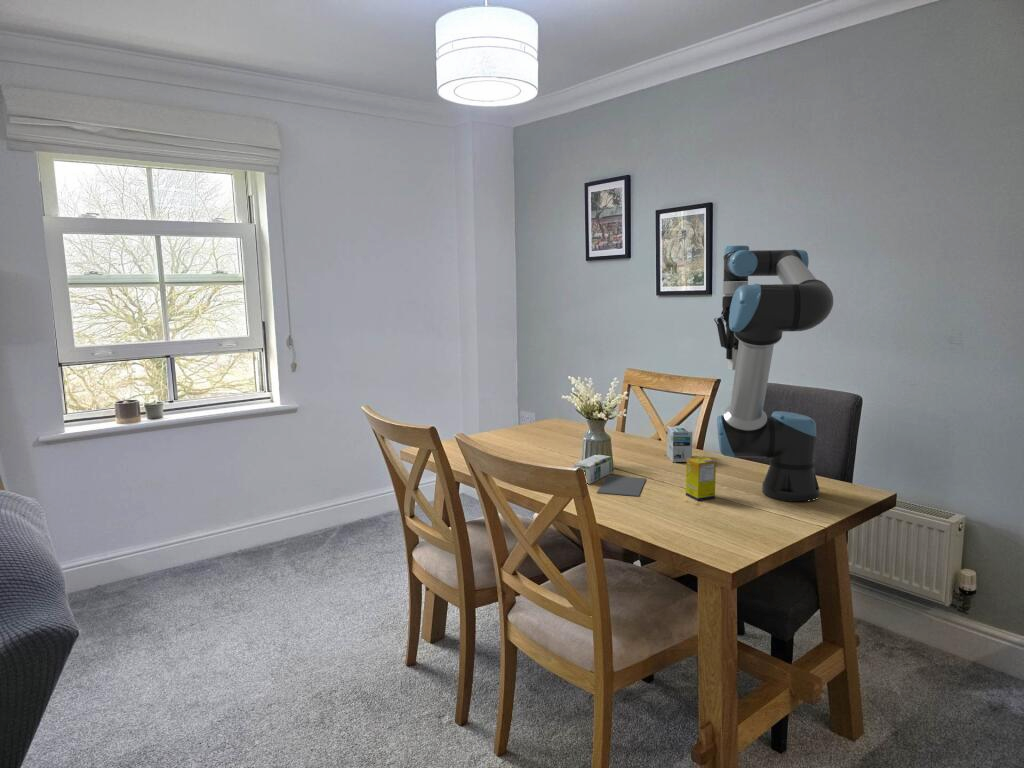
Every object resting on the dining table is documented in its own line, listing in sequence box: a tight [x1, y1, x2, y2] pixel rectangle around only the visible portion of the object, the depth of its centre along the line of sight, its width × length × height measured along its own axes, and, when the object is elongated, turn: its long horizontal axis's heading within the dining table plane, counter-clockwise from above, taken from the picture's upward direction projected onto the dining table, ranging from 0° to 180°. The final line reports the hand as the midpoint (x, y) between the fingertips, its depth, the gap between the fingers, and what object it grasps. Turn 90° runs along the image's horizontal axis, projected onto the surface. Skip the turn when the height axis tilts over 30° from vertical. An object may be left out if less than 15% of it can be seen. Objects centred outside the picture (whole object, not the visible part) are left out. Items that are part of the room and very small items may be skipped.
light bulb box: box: [666, 425, 693, 463], centre depth 233 cm, size 11×7×11 cm, turn 179°
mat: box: [596, 475, 647, 498], centre depth 203 cm, size 18×12×1 cm, turn 162°
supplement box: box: [685, 456, 717, 502], centre depth 192 cm, size 6×6×11 cm
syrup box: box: [573, 454, 613, 485], centre depth 212 cm, size 6×6×14 cm
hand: (732, 369), depth 218 cm, fingers closed
